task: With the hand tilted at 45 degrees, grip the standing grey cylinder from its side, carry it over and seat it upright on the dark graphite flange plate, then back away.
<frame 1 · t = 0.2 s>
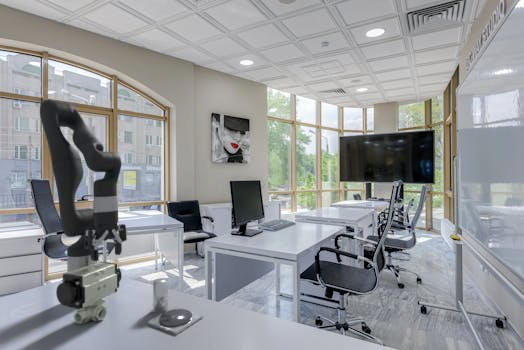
hand: (106, 257, 101), 18 cm above the table, tool pointing down, fingers open, 8 cm apart
grey cylinder: (160, 309, 102), on the table
ball valve: (93, 319, 95), on the table
flange: (175, 320, 94), on the table
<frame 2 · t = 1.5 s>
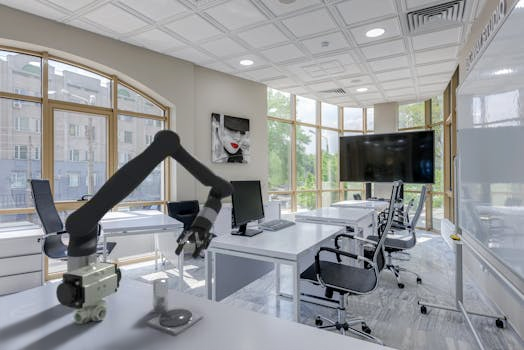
hand: (185, 256, 111), 15 cm above the table, tool tilted 45°, fingers open, 8 cm apart
nothing on the table moved.
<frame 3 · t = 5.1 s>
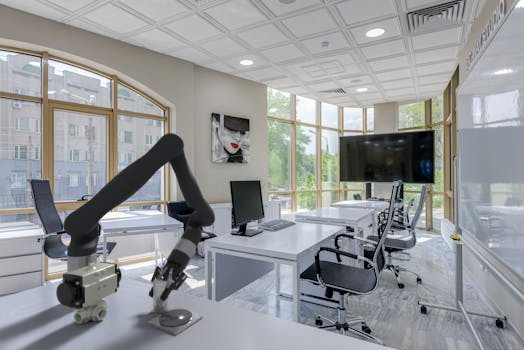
hand: (156, 298, 100), 5 cm above the table, tool tilted 45°, fingers closed on grey cylinder, 4 cm apart
grey cylinder: (160, 309, 102), on the table, touching gripper
everything else where it was.
when the fingers open (7 cm above the table, at t = 10.9 s): grey cylinder stays where it is, resting on flange.
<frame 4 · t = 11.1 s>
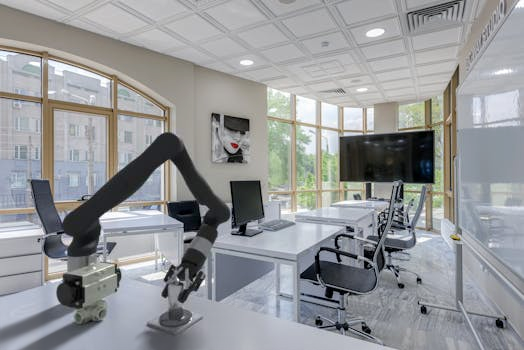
hand: (172, 299, 93), 7 cm above the table, tool tilted 45°, fingers open, 6 cm apart
grey cylinder: (175, 316, 94), point 1 cm above the table, touching flange
everything else where it was.
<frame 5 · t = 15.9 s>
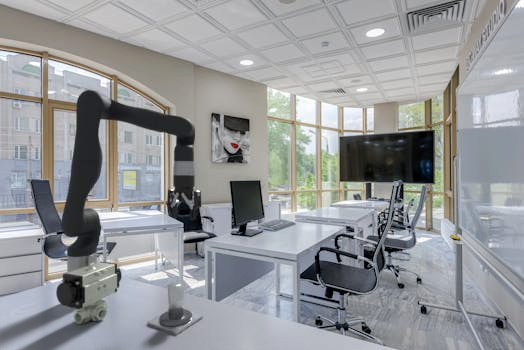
hand: (183, 218, 108), 30 cm above the table, tool pointing down, fingers open, 8 cm apart
nothing on the table moved.
at the end: grey cylinder 0.2 cm from the flange (horizontally); grey cylinder tilted 0°; grey cylinder point 1.4 cm above the table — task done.
